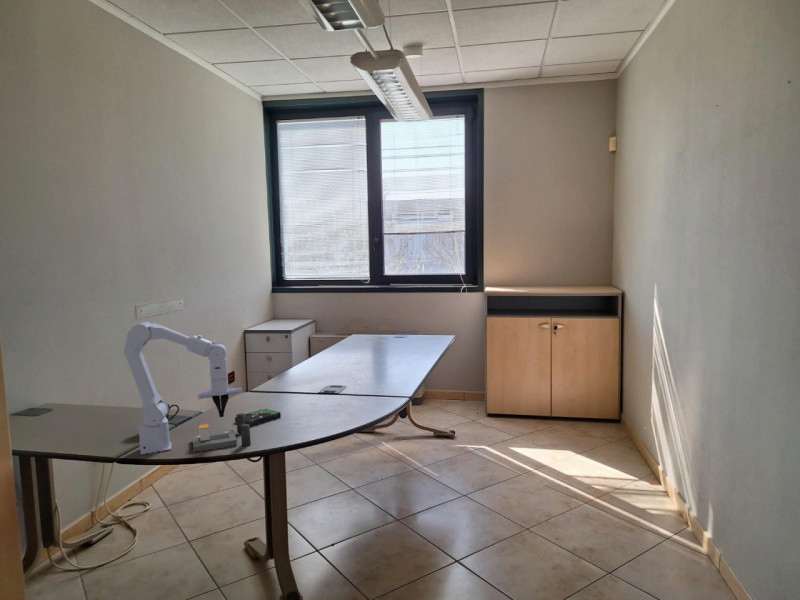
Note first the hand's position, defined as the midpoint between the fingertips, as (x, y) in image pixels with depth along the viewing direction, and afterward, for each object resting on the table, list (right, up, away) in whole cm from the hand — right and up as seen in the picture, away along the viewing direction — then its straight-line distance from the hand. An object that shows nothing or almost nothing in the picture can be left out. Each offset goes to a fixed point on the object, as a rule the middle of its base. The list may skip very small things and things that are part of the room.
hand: (221, 416), depth 189 cm
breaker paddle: (-5, -7, -2) cm, 9 cm away
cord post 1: (+4, -8, +10) cm, 14 cm away
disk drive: (+6, -8, +25) cm, 27 cm away
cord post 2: (+10, -9, -3) cm, 14 cm away
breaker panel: (-2, -10, 0) cm, 10 cm away
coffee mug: (-28, -9, +16) cm, 33 cm away
